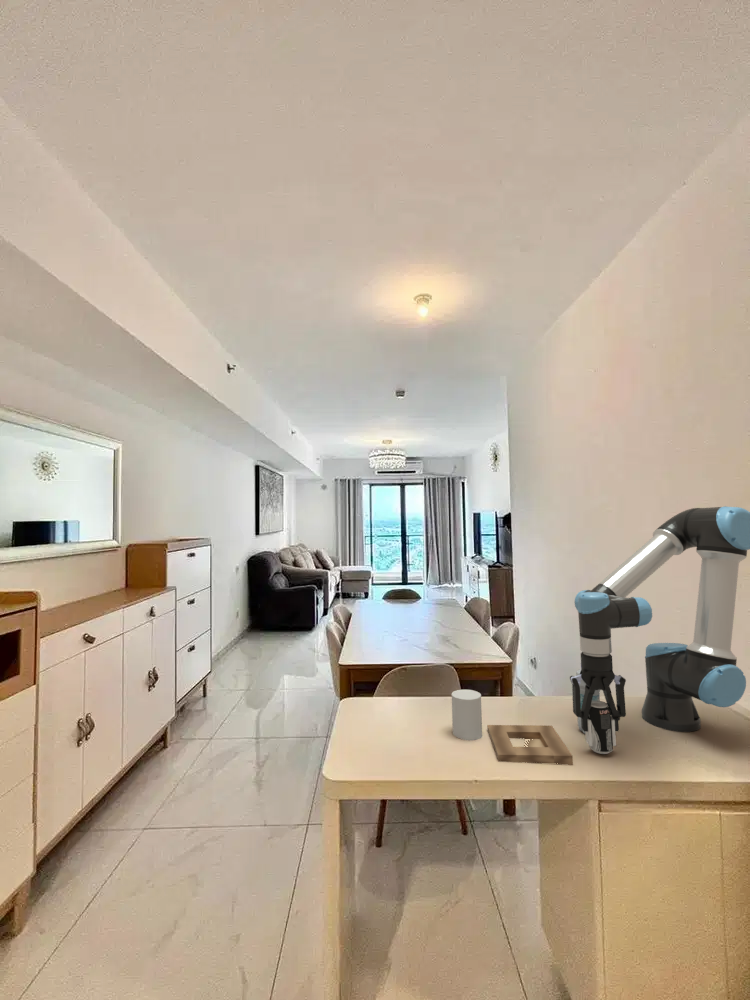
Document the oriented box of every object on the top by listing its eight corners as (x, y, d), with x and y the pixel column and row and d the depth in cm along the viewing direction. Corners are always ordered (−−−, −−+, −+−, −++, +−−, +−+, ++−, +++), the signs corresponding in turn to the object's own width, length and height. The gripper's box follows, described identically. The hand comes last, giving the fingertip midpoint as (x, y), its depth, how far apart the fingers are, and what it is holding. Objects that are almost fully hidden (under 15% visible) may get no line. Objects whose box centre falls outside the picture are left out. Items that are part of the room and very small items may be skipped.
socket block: (552, 734, 139) (551, 725, 139) (572, 765, 121) (572, 755, 121) (487, 733, 140) (487, 724, 140) (498, 764, 122) (498, 754, 122)
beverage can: (590, 743, 131) (587, 698, 132) (614, 747, 128) (611, 701, 129) (587, 753, 126) (584, 705, 127) (612, 757, 123) (609, 708, 124)
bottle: (605, 737, 136) (602, 664, 137) (579, 736, 137) (576, 663, 138) (599, 727, 142) (596, 657, 143) (575, 726, 144) (572, 656, 145)
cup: (485, 734, 139) (483, 691, 140) (478, 746, 132) (477, 701, 133) (457, 730, 143) (456, 688, 143) (449, 741, 136) (448, 697, 136)
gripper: (625, 648, 131) (630, 737, 130) (556, 649, 133) (560, 737, 132) (638, 656, 124) (643, 750, 123) (564, 657, 125) (569, 750, 124)
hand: (600, 743), depth 127 cm, fingers closed on beverage can, 5 cm apart
